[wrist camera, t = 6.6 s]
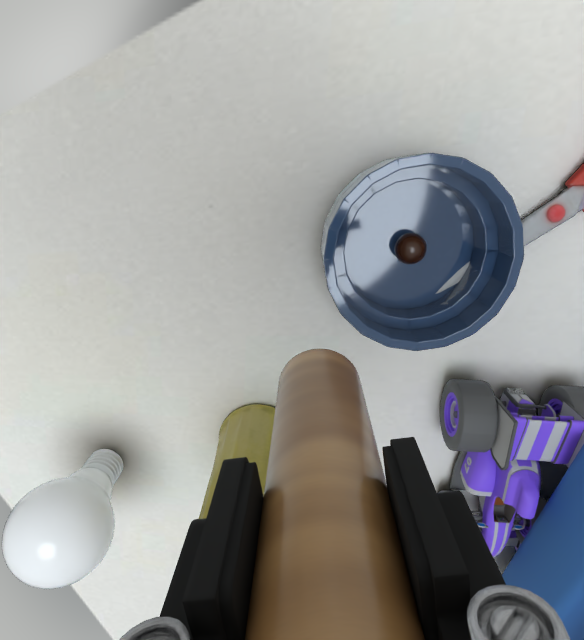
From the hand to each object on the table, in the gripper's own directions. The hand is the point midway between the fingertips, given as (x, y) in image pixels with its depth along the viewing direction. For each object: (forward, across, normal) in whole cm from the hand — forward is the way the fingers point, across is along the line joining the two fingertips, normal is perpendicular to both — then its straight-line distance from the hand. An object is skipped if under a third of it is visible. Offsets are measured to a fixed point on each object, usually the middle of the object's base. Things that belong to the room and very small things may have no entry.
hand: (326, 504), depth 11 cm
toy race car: (+23, -12, +16) cm, 30 cm away
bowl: (+23, -6, -2) cm, 23 cm away
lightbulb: (+23, +18, +12) cm, 31 cm away
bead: (+21, -6, -2) cm, 22 cm away
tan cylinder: (+7, 0, 0) cm, 7 cm away
